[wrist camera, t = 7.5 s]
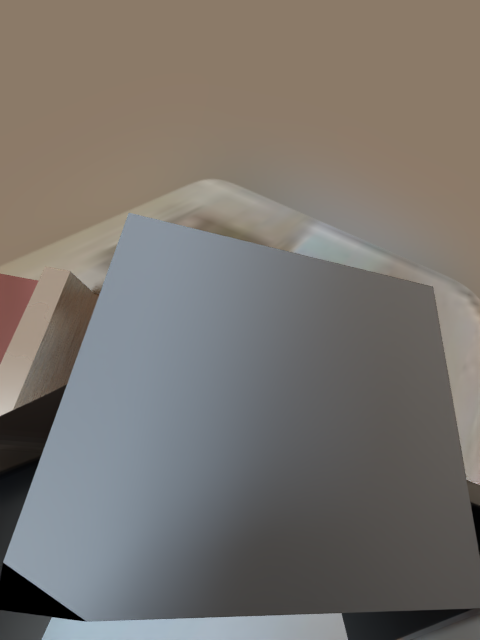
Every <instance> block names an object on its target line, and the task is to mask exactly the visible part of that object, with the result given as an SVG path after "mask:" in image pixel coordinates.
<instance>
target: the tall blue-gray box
mask: <svg viewBox="0 0 480 640" xmlns="http://www.w3.org/2000/svg"><path fill="white" fill-rule="evenodd" d="M473 608H480V555H479V550H478V544H477V538H476V532H475V526H474V521H473V515H472V509H471V503H470V498H469V492H468V486H467V480H466V474H465V469H464V463H463V457H462V451H461V446H460V440H459V434H458V428H457V422H456V417H455V411H454V405H453V399H452V394H451V388H450V382H449V376H448V370H447V365H446V359H445V353H444V347H443V342H442V336H441V330H440V324H439V318H438V313H437V307H436V301H435V295H434V290H433V287H432V286H428V285H424V284H419V283H415V282H411V281H407V280H403V279H399V278H395V277H391V276H387V275H382V274H378V273H374V272H370V271H366V270H362V269H358V268H354V267H350V266H345V265H341V264H337V263H333V262H329V261H325V260H321V259H317V258H313V257H308V256H304V255H300V254H296V253H292V252H288V251H284V250H280V249H276V248H271V247H267V246H263V245H259V244H255V243H251V242H247V241H243V240H239V239H234V238H230V237H226V236H222V235H218V234H214V233H210V232H206V231H202V230H197V229H193V228H189V227H185V226H181V225H177V224H173V223H169V222H165V221H161V220H156V219H152V218H148V217H144V216H140V215H136V214H132V213H129V214H128V217H127V220H126V222H125V225H124V228H123V231H122V233H121V236H120V239H119V242H118V245H117V247H116V250H115V253H114V256H113V258H112V261H111V264H110V267H109V270H108V272H107V275H106V278H105V281H104V283H103V286H102V289H101V292H100V295H99V297H98V300H97V303H96V306H95V308H94V311H93V314H92V317H91V320H90V322H89V325H88V328H87V331H86V333H85V336H84V339H83V342H82V345H81V347H80V350H79V353H78V356H77V358H76V361H75V364H74V367H73V370H72V372H71V375H70V378H69V381H68V383H67V386H66V389H65V392H64V394H63V397H62V400H61V403H60V406H59V408H58V411H57V414H56V417H55V419H54V422H53V425H52V428H51V431H50V433H49V436H48V439H47V442H46V444H45V447H44V450H43V453H42V456H41V458H40V461H39V464H38V467H37V469H36V472H35V475H34V478H33V481H32V483H31V486H30V489H29V492H28V494H27V497H26V500H25V503H24V506H23V508H22V511H21V514H20V517H19V519H18V522H17V525H16V528H15V531H14V533H13V536H12V539H11V542H10V544H9V547H8V550H7V553H6V556H5V558H4V561H3V565H2V571H1V576H0V610H2V611H10V612H18V613H25V614H33V615H41V616H48V617H56V618H63V619H71V620H79V621H86V622H87V621H116V620H146V619H176V618H205V617H235V616H265V615H295V614H324V613H354V612H384V611H413V610H443V609H473Z"/></svg>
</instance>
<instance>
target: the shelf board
mask: <svg viewBox="0 0 480 640" xmlns="http://www.w3.org/2000/svg"><path fill="white" fill-rule="evenodd" d="M99 295H100V294H95V293H93V292H92V291H91V290H90V289H89V288H88V287H87V286H86V285H85V284H84V283H82V282H81V281H80V280H79V279H78V278H77V277H76V276H75V275H74V274H73V273H72V272H71V271H66V270H61V269H56V268H51V267H45V268H44V270H43V272H42V275H41V277H40V279H39V281H37V280H31V279H26V278H20V277H15V276H10V275H4V274H0V416H1V415H3V414H5V413H8V412H10V411H12V410H14V409H16V408H18V407H21V406H23V405H25V404H27V403H29V402H31V401H34V400H36V399H38V398H40V397H42V396H44V395H46V394H48V393H50V392H52V391H54V390H56V389H58V388H60V387H62V386H64V385H66V384H67V383H68V381H69V378H70V375H71V372H72V370H73V367H74V364H75V361H76V358H77V356H78V353H79V350H80V347H81V345H82V342H83V339H84V336H85V333H86V331H87V328H88V325H89V322H90V320H91V317H92V314H93V311H94V308H95V306H96V303H97V300H98V297H99Z"/></svg>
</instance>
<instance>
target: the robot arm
mask: <svg viewBox="0 0 480 640" xmlns="http://www.w3.org/2000/svg"><path fill="white" fill-rule="evenodd" d="M66 386H67V384H66V385H64V386H62V387H60V388H58V389H56V390H54V391H52V392H50V393H48V394H46V395H44V396H42V397H40V398H38V399H36V400H34V401H31V402H29V403H27V404H25V405H23V406H21V407H18V408H16V409H14V410H12V411H10V412H8V413H5V414H3V415H1V416H0V576H1V571H2V565H3V561H4V558H5V556H6V553H7V550H8V547H9V544H10V542H11V539H12V536H13V533H14V531H15V528H16V525H17V522H18V519H19V517H20V514H21V511H22V508H23V506H24V503H25V500H26V497H27V494H28V492H29V489H30V486H31V483H32V481H33V478H34V475H35V472H36V469H37V467H38V464H39V461H40V458H41V456H42V453H43V450H44V447H45V444H46V442H47V439H48V436H49V433H50V431H51V428H52V425H53V422H54V419H55V417H56V414H57V411H58V408H59V406H60V403H61V400H62V397H63V394H64V392H65V389H66ZM467 486H468V492H469V498H470V503H471V509H472V515H473V521H474V526H475V532H476V538H477V544H478V550H479V555H480V485H478V484H475V483H472V482H470V481H468V480H467ZM342 617H343V621H344V625H345V629H346V633H347V637H348V640H480V608H473V609H443V610H413V611H384V612H354V613H342ZM50 619H51V617H48V616H41V615H33V614H25V613H18V612H10V611H2V610H0V640H41V639H42V637H43V635H44V633H45V630H46V628H47V626H48V624H49V622H50Z"/></svg>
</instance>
